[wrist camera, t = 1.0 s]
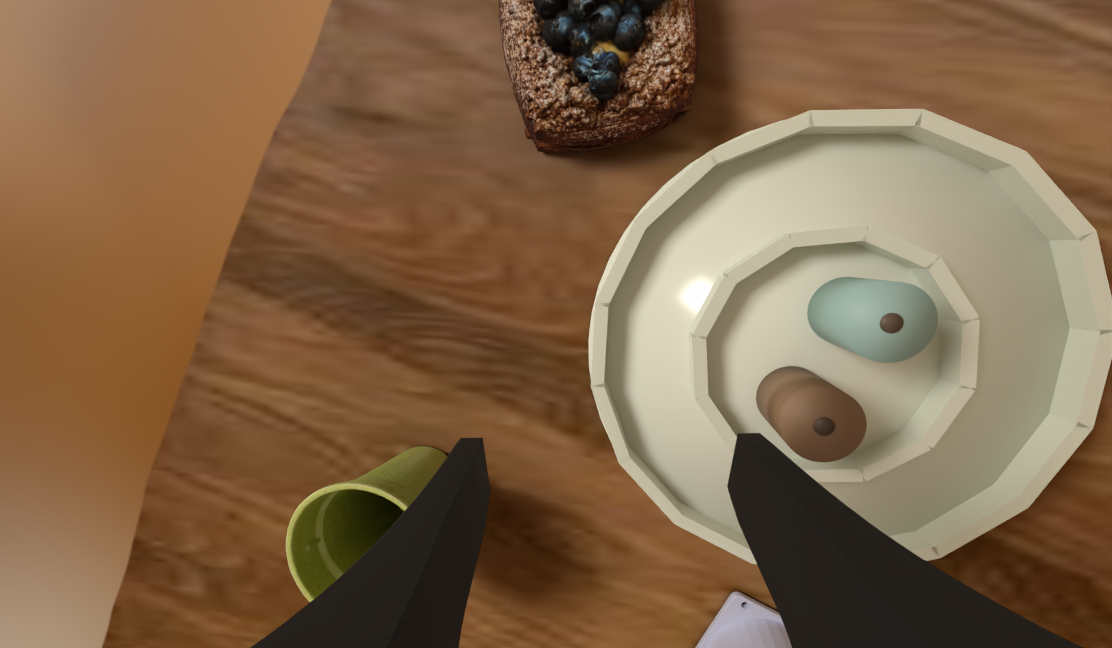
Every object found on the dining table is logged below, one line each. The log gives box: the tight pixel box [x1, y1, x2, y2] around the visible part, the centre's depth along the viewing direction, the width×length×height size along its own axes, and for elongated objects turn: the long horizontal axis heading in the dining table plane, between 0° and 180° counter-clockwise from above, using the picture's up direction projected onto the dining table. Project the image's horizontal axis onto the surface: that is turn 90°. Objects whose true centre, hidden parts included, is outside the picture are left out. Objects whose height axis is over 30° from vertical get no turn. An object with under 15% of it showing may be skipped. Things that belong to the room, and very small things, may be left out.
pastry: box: [499, 0, 698, 153], centre depth 23 cm, size 11×12×6 cm
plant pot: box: [286, 446, 447, 602], centre depth 28 cm, size 9×9×9 cm
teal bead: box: [807, 277, 938, 363], centre depth 23 cm, size 4×4×5 cm
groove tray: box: [589, 109, 1112, 564], centre depth 25 cm, size 28×28×2 cm
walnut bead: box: [756, 366, 867, 462], centre depth 24 cm, size 4×4×5 cm
